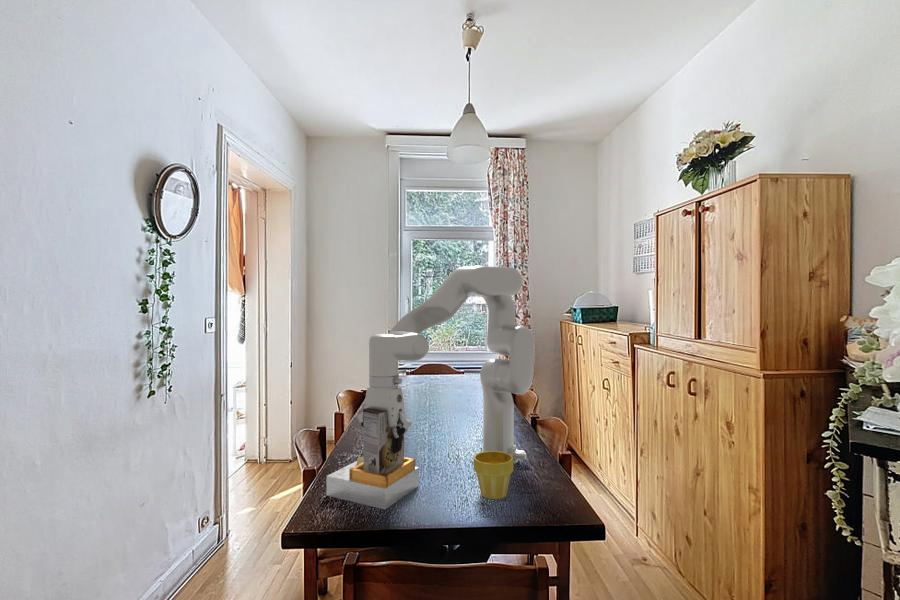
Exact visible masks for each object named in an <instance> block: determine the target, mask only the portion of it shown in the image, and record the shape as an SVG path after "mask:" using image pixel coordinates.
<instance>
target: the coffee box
mask: <svg viewBox="0 0 900 600" xmlns="http://www.w3.org/2000/svg"><path fill="white" fill-rule="evenodd" d="M362 412H363V427H362V429H363V430H362V436H363V437H362V439H363V440H362V441H363V445H362V446H363V447H362V449H363V454H362V455H363V456H362V457H363V463H364V470H365V471H369V472H374V473H379V474H386V473H388V472H390V471H392V470H393V469H395V468H397V467H398V466H400V465H402V464H403V463H404V457H405V433H404V434H403V435H402V448H401V451H399V452H397V453H393V452H392V438H394V435H393V432H392V430H391V428H390V427H389V424H388V412H387V411H385V410H379V409H373V408H365V407H364V408H363V409H362ZM398 421H400V422H399V423H401V420H400V419H398ZM400 425H401V427H403V425H404V423H403V424H400ZM396 429H397V427H396Z"/></svg>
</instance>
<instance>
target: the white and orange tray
mask: <svg viewBox="0 0 900 600" xmlns="http://www.w3.org/2000/svg"><path fill="white" fill-rule="evenodd" d="M419 469H420V467H418V466H416V458H413V457H412V458H411V457H405V456H404V463H403V464H402V465H400V466H398V467H397V468H395V469H393V470H392V471H390V472H388V473H386V474H379V473H374V472H369V471H365V470H364V463H363V456H360V457H358V458H356V461H354V462H352V463H349V464H348V465H346V466H344V467H342V468H339V469H338V470H336V471H333V472H332V473H329V474H327V475H326V496H327V497H331V498H335V499H340V500H344V501H349V502H351V503H356V504H360V505H365V506H369V507H373V508H377V509H381V510H387V509H388V508H389V507H391V506H393V505H394V504H395V503H397V502H398V501H399V500H401V499H402V498H404V497H405V496H406V495H408V494H410V493H411V492H412V491H414V490H415V489H416V488H418V487H419V485H420V484H419V480H420V477H419V474H420V473H419Z"/></svg>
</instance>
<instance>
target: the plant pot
mask: <svg viewBox="0 0 900 600" xmlns="http://www.w3.org/2000/svg"><path fill="white" fill-rule="evenodd" d="M514 465H515V464H514V462H513V457H512V455H510V454H508V453H505V452H501V451H484V452H483V451H480V452H477V453H475V454H474V456H473V471H474V472H475V473H476V477H477V480H478V486H479V490H480V491H479V492H480V495H481V496H482V497H484V498H485V499H489V500H501V499H504V498H506V497H507V495H508V489H509V485H510V484H509V483H510V480H511V474H512V473H513V472H514Z"/></svg>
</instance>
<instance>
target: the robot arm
mask: <svg viewBox="0 0 900 600" xmlns="http://www.w3.org/2000/svg"><path fill="white" fill-rule="evenodd" d="M522 285H523V278H522V275H521V272H520V271H518V269H516V268H514V267H511V266H486V265H474V266H472V265H471V266H460V267H457V268H455V269H454V270H453V271H451V272H450V274H449V275H448V276H447V277H446V278H445V279H444V281H443V282H442V283H441V284H440V285H439V286H438V287H437V289H436V290H435V291H434V292H433V293H432V294H431V296H430V297H429V298H427V299H426V300H425V301H424V302H422V303H420V304H419V305H418V306H416V307H414V308H413V309H411V311H409V312H408V313H406V314H405V315H403V316H402V317H401V318H400V319H399V320H398V321H397V323H395V325H394V326H393V327H392V328H391V329H390V331H388V333H376V334H372V335H371V336H370V338H369V342H368V350H369V351H368V352H369V353H368V355H369V356H368V365H369V366H368V368H369V369H368V381H369V382H368V386H367V388H366V393H365V401H364V409H365V408H373V409H379V410H385V411H387V412H388V424H389V427H390V428H391V430H392V432H393V435H394V438H392V452H393V453H397V452H399V451H401V448H402V435H403V434H404V435H405V433H406V432H407V431H408V430H409V428H410V427H411V425H413V422H412V421H411V420H410V419H409V418H408V417H407V415H406V414H405V413H406V412H405V400H404V394H403V393H404V392H403V389H402V387H401V386H399V385H402V384H403V383H402V382H403V379H402V378H399V377H400V376H399V362H400V361H402V362H403V361H404V362H406V361H407V362H416V361H420V360H422V359H424V358H425V357H427V355H428V353H429V350H430V345H429V344H430V343H429V341H428V339H427V338H426V337H425V336H424V335H422V334H421V333H422V332H424V331H426V330H428V329H429V328H433V327H435V326H437V325H438V326H439V325H441V324H443V323H446V322H448V321H450V320H451V319H452V318H453V317H454V316H455V314H456V313H457V312H458V311H459V309H461V307H462V306H463V305H464V303H465V302H466V301H467V300H468V299H469V298H470V297H473V296H478V297H480V296H481V297H482V298H483V300H484V301H485V303H486V306H487V311H488V315H487V316H488V318H487V330H486V331H487V333H486V344H487V348H488V350H489V352H491V353H492V354H495V355H496V354H497V355H499V356H500V355H501V356H508V357H509V360H508V359H505V358H504V359H503V358H490V359H488V360H485V362H484V363H483V364H482V366H481V369H480V373H479V377H480V378H479V379H480V384H481V389H482V398H483V400H482V401H483V403H482V404H483V410H482V411H483V413H482V415H483V416H482V417H483V418H482V419H483V421H482V424H483V425H482V430H483V432H482V433H483V434H482V437H483V438H482V452H484V451H501V452H505V453H508V454H510V455H512V457H513V462H514V465H516V464H517V463H518V462H519V460H520V459H521V460H526V459H527V453H526V450H519V449H518V448H517V444H514V434H515V433H514V430H515V429H514V426H515V425H514V419H515V418H514V416H515V413H514V411H515V407H514V406H515V403H514V399H513V398H514V397H513V395H512V394H514V395H515V394H516V395H523V394H526V393H528V391H529V390H530V389H531V387H532V384H533V381H534V373H535V357H536V356H535V355H536V340H535V336H534V334H533V332H532V331H531V330H530V328H528V327H526V326H524V325H516V305H515V303H514V301H513V298H512V296H514V295H517V294H518V293H519V291H520V290H521V288H522ZM357 419H358V421H359V423H360V426H361V427H362V428H363V411H362V412H361V413H359V414H358V415H357ZM398 419H400V420H401V423H399V422H400V421H398ZM403 423H404V425H403V427H401V425H400V424H403ZM396 427H397V429H396Z"/></svg>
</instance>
